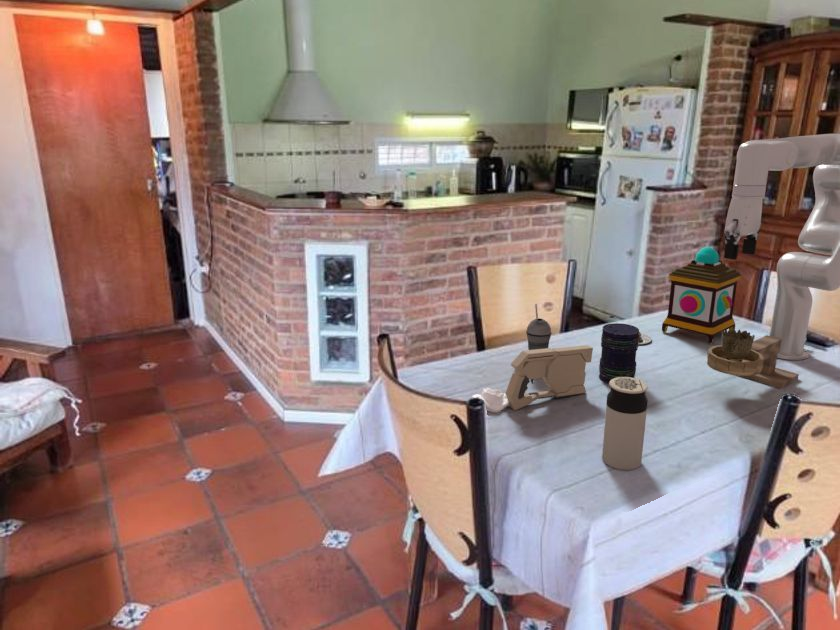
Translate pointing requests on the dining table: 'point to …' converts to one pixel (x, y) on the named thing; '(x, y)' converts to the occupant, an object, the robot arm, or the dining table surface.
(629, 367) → the storage jar
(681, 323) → the decorative lantern
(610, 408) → the travel mug
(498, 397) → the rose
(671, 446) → the dining table surface
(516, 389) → the gun
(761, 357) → the rail cup bracket
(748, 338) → the cup
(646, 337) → the beige low round piece
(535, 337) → the beverage cup
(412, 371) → the dining table surface
